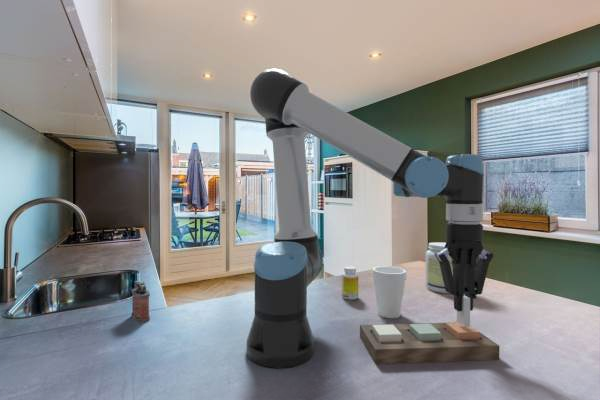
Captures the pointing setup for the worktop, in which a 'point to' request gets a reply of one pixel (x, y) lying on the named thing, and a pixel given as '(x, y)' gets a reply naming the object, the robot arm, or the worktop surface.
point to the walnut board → (427, 347)
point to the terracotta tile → (462, 331)
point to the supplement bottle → (349, 283)
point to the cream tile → (386, 333)
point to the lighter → (140, 303)
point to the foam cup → (389, 290)
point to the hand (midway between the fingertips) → (463, 324)
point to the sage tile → (424, 332)
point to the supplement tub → (435, 268)
